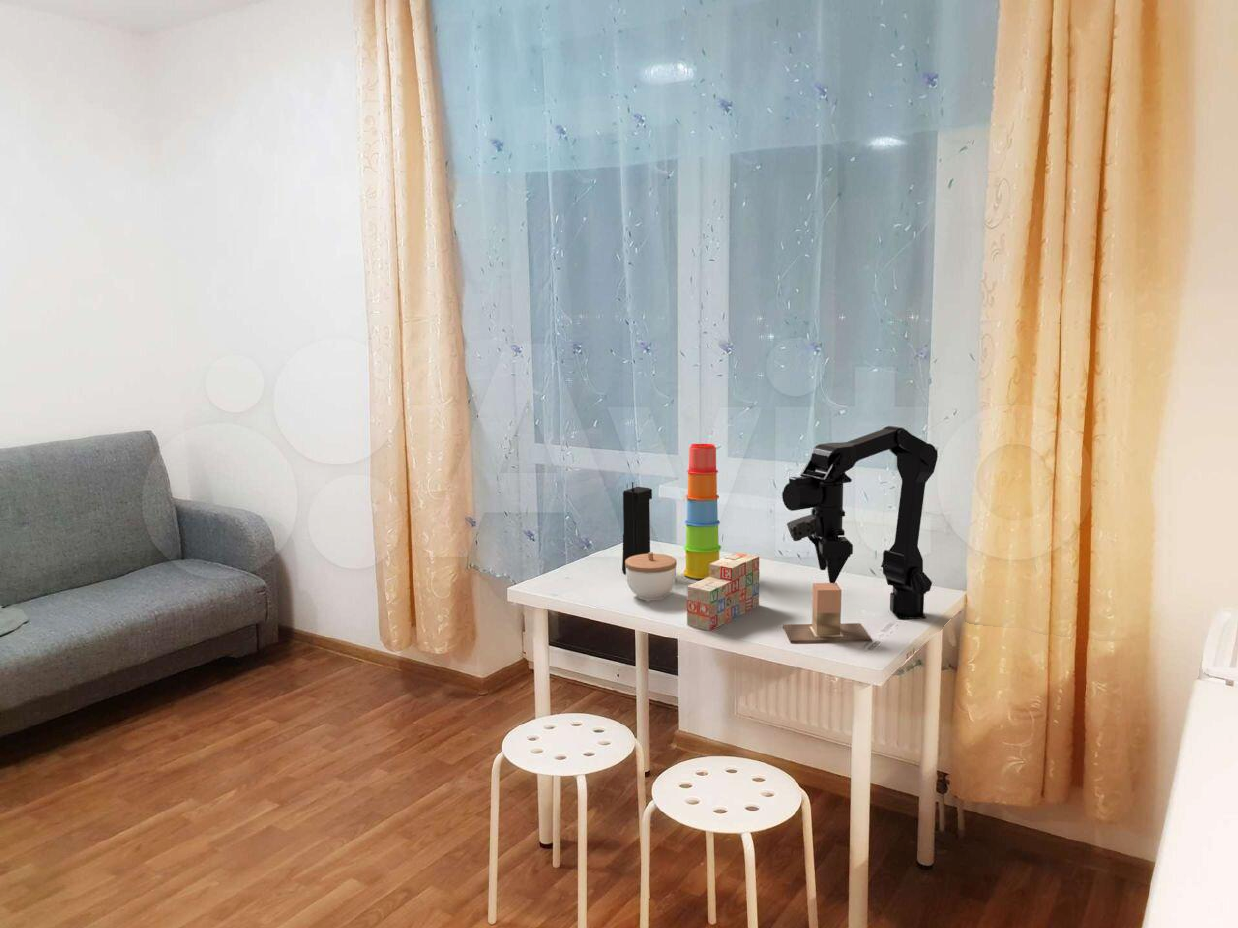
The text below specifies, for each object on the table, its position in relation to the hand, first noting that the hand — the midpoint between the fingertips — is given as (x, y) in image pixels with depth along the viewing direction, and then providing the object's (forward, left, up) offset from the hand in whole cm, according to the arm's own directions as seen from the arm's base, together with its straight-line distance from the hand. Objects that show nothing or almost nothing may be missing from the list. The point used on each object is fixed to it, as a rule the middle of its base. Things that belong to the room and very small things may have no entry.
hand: (827, 576), depth 195 cm
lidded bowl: (+37, -28, -13) cm, 48 cm away
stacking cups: (+23, -45, -13) cm, 52 cm away
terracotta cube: (0, 0, -7) cm, 7 cm away
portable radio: (+40, -49, -13) cm, 64 cm away
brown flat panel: (0, 0, -13) cm, 13 cm away
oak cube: (0, 0, -12) cm, 12 cm away
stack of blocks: (+21, -13, -13) cm, 28 cm away
